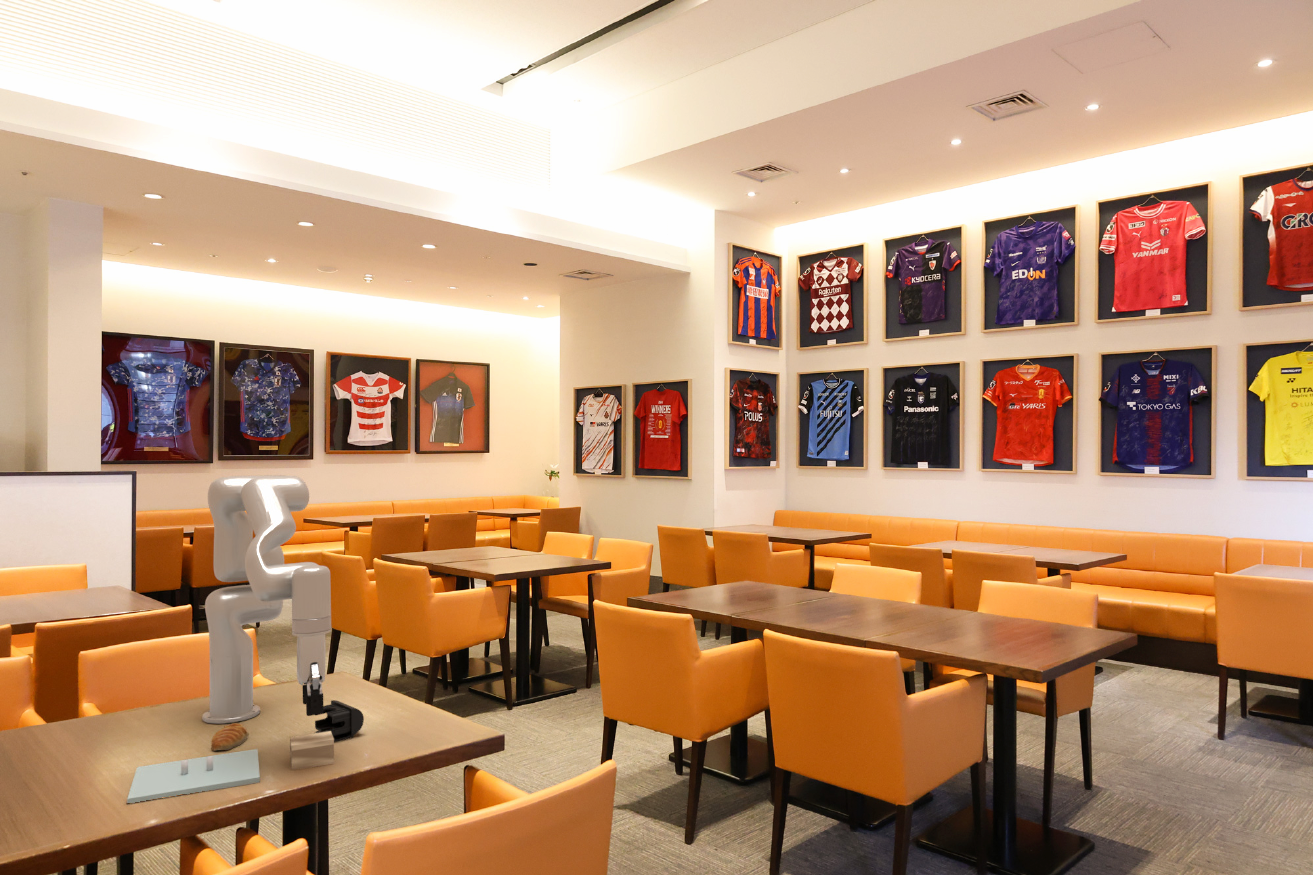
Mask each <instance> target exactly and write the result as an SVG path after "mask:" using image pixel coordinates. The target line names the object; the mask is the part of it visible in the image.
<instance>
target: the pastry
mask: <svg viewBox="0 0 1313 875" xmlns="http://www.w3.org/2000/svg"><path fill="white" fill-rule="evenodd" d="M249 735H250V733H249V731H247V729H246V728H245V726H244V725H243V724H242V723H239V722H232V723H231V724H230V723H229V724H228V725H224V727H222V728H221V729H219V730H218V731H216V732H215V734H214V735H212V736H213V737H212V738H211V750H212V752H216V751H224V750H225V751H229V750H232V749H233V748H237V747H238V746H241V745H242V744H243V743H244V742H245V741H247V740H248V737H249Z"/></svg>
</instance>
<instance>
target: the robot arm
mask: <svg viewBox="0 0 1313 875" xmlns="http://www.w3.org/2000/svg"><path fill="white" fill-rule="evenodd" d="M207 490H208V491H207V504H208V509H209V511H210V515H211V518H212V521H213V522H212V523H213V526H214V527H213V528H214V531H213V532H214V533H213V536H214V537H213V572H214V576H215V578H216V579H217V580H218V581H221V582H222V583H223V582H224V583H225V582H226V583H234V582H245V581H246V582H247V581H248V583H249V584H247V585H246V584H242V585H235V586H226V587H221V588H219V589H215V590H213V591H212V592H211V593H209V594H208V596H207V597H206V599H205V603H204V608H205V609H204V610H205V615H206V621H207V628H208V638H209V641H208V642H209V710H207V711H206V712H204V713H203V714H202V717H201V718H202V721H203V722H204V723H207V724H214V725H215V724H216V725H219V724H230V723H231V724H232V723H239V722H242V721H245V720H250V719H252V718H254V717H257V716H258V715H259V714H260V713H261V712H260V711H261V709H260V706H259V705H257V704H254V644H253V640H252V638H251V636H250V635H249V634H248V633H247V632H246V631H245V630H244V628H243V625H244V626H245V625H249V624H254V623H261V622H269V621H273V620H275V619H277V618H278V617H279V616H280V615H281V614H282V611H283V607H284V601H285V600H291V626H292V630H291V631H292V632H291V634H292V636H295V637H297V638H296V639H297V640H296V679H297V682H298V684H299V685H300V686H302V704H303V705H305V707H306V708H305V713H306V714H305V715H306V716H308V717H310V716H319V715H318V714H320V715H324V714H323V712H324V711H323V706H324V693H323V682H324V681H325V679H326V660H327V659H326V657H327V656H326V653H327V651H326V634H328V633H329V634H330V633H331V632H332V604H331V603H332V600H331V599H332V596H331V595H332V594H331V593H332V592H331V591H332V590H331V588H332V587H331V570H330V569H329V567H328V566H326V565H319V564H318V563H316V562H314V561H313V562H312V561H304V562H295V563H293V562H292V563H285V556H284V551H283V549H282V547H281V546H282V545H283V544H285V543H287V542H289V540H291V539H292V537H293V536H294V535H295V533H296V529H297V526H296V524H297V523H296V522H295V519H294V517H293V515H292V513H294V512H301V511H303V510H305V509H306V508H307V507H308V505H309V502H310V491H309V488H308V485H307V484H306V482H305V481H304V480H303V479H302V478H301V477H299V476H296V475H293V476H292V475H281V474H280V475H279V474H276V475H272V474H271V475H269V474H268V475H234V476H233V475H231V476H223V477H219V478H217V479H214V480H213V481H212V482H211V483H210V485H209V487H208V489H207ZM253 534H254V535H255V537H253V536H254V535H253Z"/></svg>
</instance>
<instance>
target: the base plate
mask: <svg viewBox="0 0 1313 875" xmlns="http://www.w3.org/2000/svg"><path fill="white" fill-rule="evenodd" d="M258 752H259V751H258V748H254V749H248V750H242V751H241V750H240V751H235V752H228V753H222V754H215V755H208V756H202V757H193V758H189V759H182V760H181V759H180V760H175V761H168V762H161V763H154V764H149V765H142V766H137V767H136V770H135V773H134V777H133V779H132V783H131V785H130V789H129V792H128V796H127V798H126V804H127V803H133V804H136V803H135V802H139V803H141V802H140V801H145V802H147V801H146V800H151V799H157V798H162V797H169V796H175V797H177V796H176V795H180V794H187V795H190V793H193V794H196V793H195V792H199V793H203V792H202V791H205V792H210V791H209V790H211V791H215V790H216V791H217V790H221V789H222V790H223V789H227V788H233V787H234V788H235V787H239V786H247V785H251V784H258V783H260V782H261V776H260V765H259V753H258ZM169 798H170V797H169ZM157 800H158V799H157ZM151 801H152V800H151Z"/></svg>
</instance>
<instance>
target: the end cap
mask: <svg viewBox="0 0 1313 875" xmlns="http://www.w3.org/2000/svg"><path fill="white" fill-rule="evenodd" d="M323 711H324V712H323V714H322V715H324V714H326V717H325V718H321V719H318V720H314V729H315V730H316V731H315V733H321V732H327V731H331V733H332V735H333V738H334V743H337V742H341V741H345V740H349V739H352V738H353V737H354V736H356V734H357V733H359V731H361V729H362V727H363V725H364V723H365V722H364V720H365V718H364V717H365V716H364V714H363V712H362V711H361V710H360V709H358V708H356V707H355V706H351V705H349V704H346V703H344V702H342V701H339V700H337V699H336V700H333V699H332V700H331V701H330V704H327V705H323ZM320 715H321V714H318V715H317V716H320Z"/></svg>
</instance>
